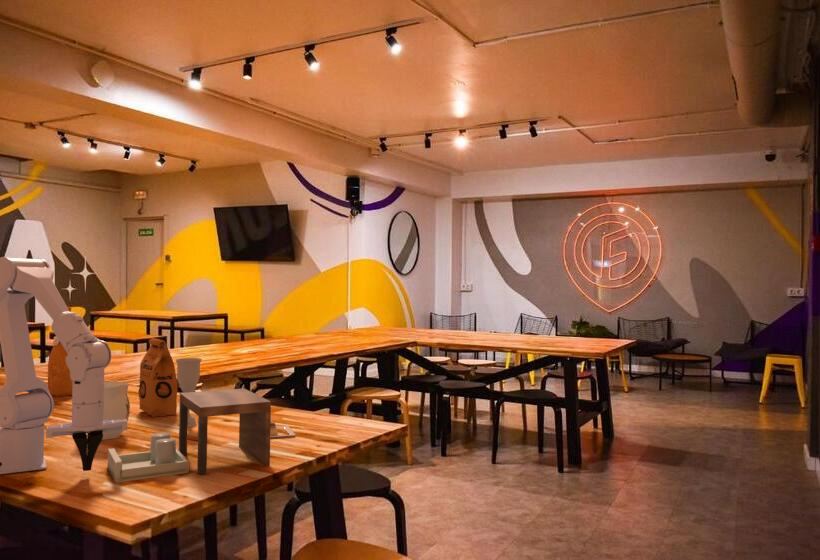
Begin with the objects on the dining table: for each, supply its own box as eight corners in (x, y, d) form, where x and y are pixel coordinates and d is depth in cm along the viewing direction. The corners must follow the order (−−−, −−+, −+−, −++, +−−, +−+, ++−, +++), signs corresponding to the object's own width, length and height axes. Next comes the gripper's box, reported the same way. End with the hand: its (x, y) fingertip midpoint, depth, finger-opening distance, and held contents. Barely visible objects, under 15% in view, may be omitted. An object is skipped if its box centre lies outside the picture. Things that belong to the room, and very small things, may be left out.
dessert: (242, 431, 174) (243, 414, 174) (287, 429, 178) (288, 411, 178) (248, 442, 162) (248, 423, 162) (295, 439, 166) (296, 420, 166)
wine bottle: (51, 392, 224) (52, 305, 224) (82, 391, 226) (84, 305, 227) (44, 397, 214) (46, 306, 214) (77, 396, 217) (78, 306, 217)
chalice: (191, 428, 173) (193, 361, 174) (168, 427, 175) (170, 360, 175) (205, 423, 181) (206, 358, 181) (183, 421, 182) (184, 357, 182)
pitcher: (121, 426, 175) (122, 375, 175) (135, 440, 160) (136, 385, 160) (76, 431, 169) (77, 378, 169) (86, 446, 154) (87, 388, 154)
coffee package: (145, 418, 185) (147, 341, 185) (135, 411, 195) (137, 338, 195) (181, 415, 190) (182, 340, 191) (169, 408, 201) (171, 337, 201)
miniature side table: (199, 475, 132) (200, 407, 132) (178, 453, 149) (179, 393, 149) (269, 466, 140) (270, 401, 140) (243, 446, 156) (244, 388, 157)
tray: (115, 483, 127) (115, 450, 127) (107, 467, 138) (108, 437, 138) (188, 473, 135) (189, 442, 135) (176, 459, 145) (176, 430, 145)
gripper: (47, 408, 123) (46, 480, 123) (130, 402, 131) (128, 469, 130) (46, 402, 129) (44, 470, 129) (124, 396, 137) (123, 460, 137)
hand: (86, 469), depth 130 cm, fingers closed
